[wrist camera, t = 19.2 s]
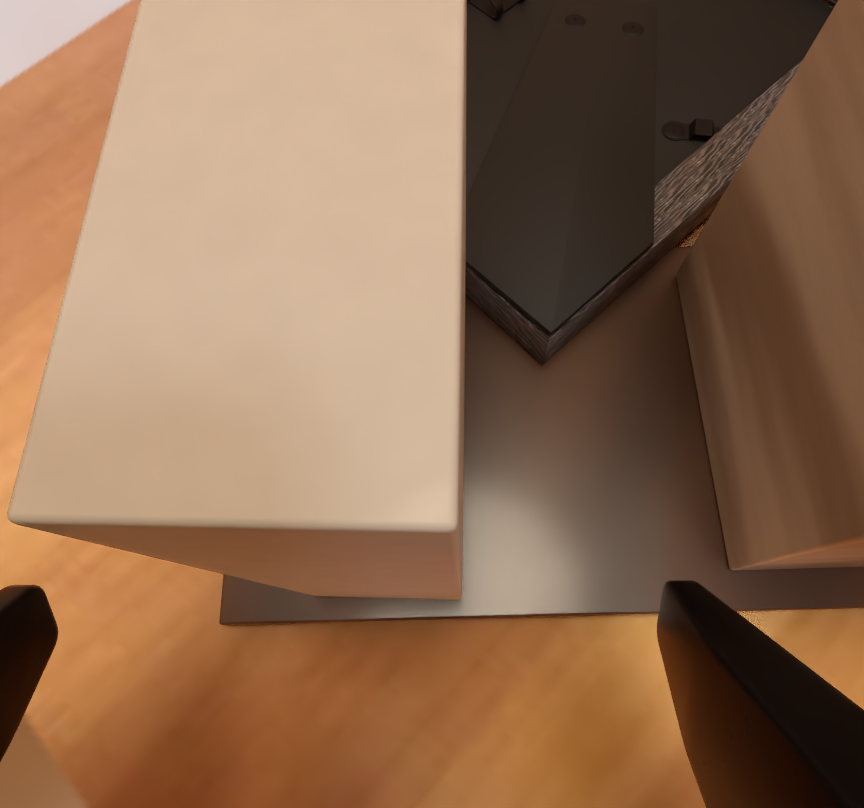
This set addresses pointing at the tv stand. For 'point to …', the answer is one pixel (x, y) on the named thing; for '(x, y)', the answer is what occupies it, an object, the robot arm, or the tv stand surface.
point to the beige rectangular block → (270, 303)
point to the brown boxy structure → (679, 406)
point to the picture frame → (607, 141)
